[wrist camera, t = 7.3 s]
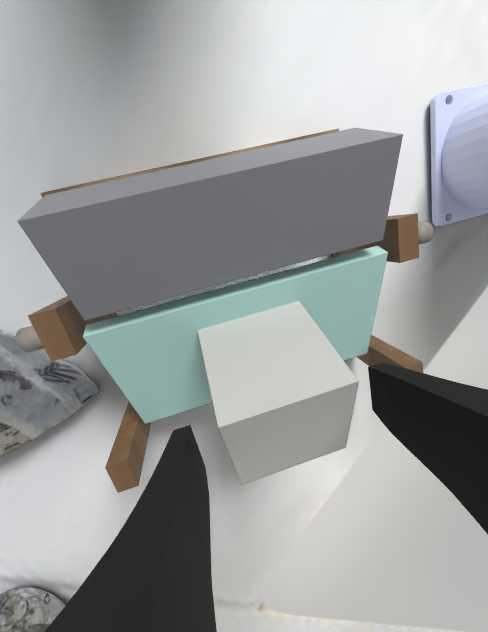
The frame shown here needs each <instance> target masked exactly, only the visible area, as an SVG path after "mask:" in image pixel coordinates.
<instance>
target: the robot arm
mask: <svg viewBox="0 0 488 632" xmlns="http://www.w3.org/2000/svg"><path fill="white" fill-rule="evenodd" d="M445 100H447V104H446V102H445ZM430 123H431V182H432V222H433V224H434V225H435V226H444V225H447V224H451V223H455V222H459V221H462V220H466V219H470V218H473V217H477V216H481V215H484V214H488V83H484V84H479V85H474V86H469V87H465V88H460V89H455V90H450V91H446V92H441V93H439V94H437V95H435V96H434V97H433V98H432V100H431V103H430ZM446 215H447V219H446ZM368 370H369V380H370V389H371V399H372V409H373V411H374V412H375V413H376V415H377V416H378V417H379V419H380V420H381V421H382V422H383V424H384V425H385V426H386V427H387V428H388V430H389V431H390V432H391V433H392V434H393V435H394V436H395V437H396V438H397V439H398V440H399V441H400V442H401V443H402V444H403V445H404V446H405V447H406V448H407V449H408V450H409V451H411V453H412V454H413V455H414V456H415V457H417V458H418V459H419V460H420V461H421V462H422V463H423V464H424V465H425V466H426V467H427V468H428V469H429V470H430V471H431V472H432V473H433V474H434V475H435V476H436V477H437V478H438V479H439V480H440V481H441V482H442V483H443V484H444V485H445V486H446V487H447V488H448V489H449V490H450V491H451V492H452V493H453V494H454V495H455V497H456V498H457V499H458V500H459V501H460V502H461V503H462V505H463V506H464V507H465V508H466V509H467V510H468V511H469V513H470V514H471V515H472V516H473V517H474V518H475V520H476V521H477V522H478V523H479V524H480V525H481V527H482V528H483V529H484V530H485V531H486V532H487V534H488V390H487V389H482V388H477V387H474V386H469V385H465V384H460V383H456V382H453V381H449V380H445V379H442V378H438V377H434V376H431V375H427V374H424V373H420V372H417V371H413V370H410V369H406V368H403V367H399V366H395V365H391V364H387V363H379V364H376V365H373V366H370V367H368ZM44 632H217V631H216V622H215V612H214V602H213V593H212V578H211V548H210V507H209V491H208V483H207V476H206V468H205V465H204V462H203V459H202V457H201V454H200V451H199V448H198V446H197V443H196V440H195V437H194V434H193V432H192V429H191V426H190V425H189V426H186V427H183V428H180V429H176V430H174V431H173V433H172V434H171V437H170V439H169V441H168V443H167V445H166V448H165V450H164V452H163V454H162V456H161V458H160V461H159V463H158V465H157V467H156V469H155V471H154V473H153V475H152V477H151V479H150V481H149V483H148V484H147V486H146V488H145V490H144V492H143V493H142V495H141V497H140V499H139V501H138V502H137V504H136V506H135V508H134V510H133V511H132V513H131V515H130V516H129V518H128V519H127V521H126V523H125V524H124V526H123V528H122V529H121V531H120V532H119V534H118V535H117V537H116V538H115V540H114V541H113V543H112V544H111V546H110V547H109V549H108V550H107V552H106V553H105V554H104V556H103V557H102V558H101V560H100V561H99V562H98V564H97V565H96V566H95V568H94V569H93V570H92V572H91V573H90V575H89V576H88V577H87V579H86V580H85V581H84V583H83V584H82V585H81V587H80V588H79V589H78V591H77V592H76V593H75V594H74V596H73V597H72V598H71V599H70V601H69V602H68V603H67V604H66V606H65V607H64V608H63V609H62V611H61V612H60V613H59V614H58V616H57V617H56V618H55V619H54V620H53V622H52V623H51V624H50V625H49V626H48V628H47V629H46V630H45V631H44Z"/></svg>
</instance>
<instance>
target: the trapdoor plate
mask: <svg viewBox="0 0 488 632" xmlns="http://www.w3.org/2000/svg"><path fill="white" fill-rule="evenodd" d="M402 137H403V134H396V133H389V132H382V131H374V130H367V129H360V128H352V129H347V130H343V131H338V132H334V133H329V134H324V135H320V136H315V137H311V138H306V139H301V140H297V141H292V142H288V143H283V144H278V145H274V146H269V147H265V148H260V149H255V150H251V151H246V152H242V153H237V154H232V155H228V156H223V157H219V158H214V159H209V160H205V161H200V162H196V163H191V164H186V165H182V166H177V167H173V168H168V169H163V170H159V171H154V172H150V173H145V174H140V175H136V176H131V177H127V178H122V179H117V180H113V181H108V182H104V183H99V184H94V185H90V186H85V187H81V188H76V189H71V190H67V191H62V192H58V193H53V194H48V195H45V196H44V197H43V198H42V199H41V200H40V201H39V202H38V203H37V204H36V205H34V206H33V207H32V208H31V209H30V210H29V211H28V212H27V213H26V214H25V215H24V216H23V217H21V218H20V219H19V220H18V223H19V224H20V226H21V227H22V229H23V230H24V232H25V233H26V235H27V236H28V237H29V239H30V240H31V242H32V243H33V245H34V246H35V248H36V249H37V251H38V252H39V254H40V255H41V257H42V258H43V260H44V261H45V263H46V264H47V265H48V267H49V268H50V270H51V271H52V273H53V274H54V276H55V277H56V279H57V280H58V282H59V283H60V285H61V286H62V288H63V289H64V291H65V292H66V293H67V295H68V296H69V298H70V299H71V301H72V302H73V304H74V305H75V307H76V308H77V310H78V311H79V313H80V314H81V316H82V317H83V319H84V320H89V319H93V318H96V317H100V316H104V315H107V314H111V313H115V312H119V311H122V310H126V309H130V308H133V307H137V306H141V305H144V304H148V303H152V302H156V301H159V300H163V299H167V298H170V297H174V296H178V295H181V294H185V293H189V292H192V291H196V290H200V289H204V288H207V287H211V286H215V285H218V284H222V283H226V282H229V281H233V280H237V279H241V278H244V277H248V276H252V275H255V274H259V273H263V272H266V271H270V270H274V269H277V268H281V267H285V266H289V265H292V264H296V263H300V262H303V261H307V260H311V259H314V258H318V257H322V256H326V255H329V254H333V253H337V252H340V251H344V250H348V249H351V248H355V247H359V246H362V245H366V244H370V243H374V242H377V241H381V240H383V237H384V232H385V226H386V221H387V216H388V211H389V205H390V200H391V195H392V189H393V184H394V179H395V174H396V168H397V163H398V158H399V152H400V147H401V142H402ZM387 256H388V252H387V251H385V250H384V249H382V248H380V247H379V246H374V247H371V248H367V249H363V250H360V251H356V252H352V253H349V254H345V255H341V256H338V257H334V258H330V259H327V260H323V261H319V262H316V263H312V264H308V265H305V266H301V267H297V268H294V269H290V270H286V271H283V272H279V273H275V274H272V275H268V276H264V277H260V278H257V279H253V280H249V281H246V282H242V283H238V284H235V285H231V286H227V287H224V288H220V289H216V290H213V291H209V292H205V293H202V294H198V295H194V296H191V297H187V298H183V299H180V300H176V301H172V302H169V303H165V304H161V305H158V306H154V307H150V308H147V309H143V310H139V311H136V312H132V313H128V314H125V315H121V316H117V317H114V318H110V319H106V320H103V321H99V322H95V323H92V324H88V325H86V327H85V331H84V335H83V338H84V339H85V341H86V342H87V344H88V345H89V346H90V348H91V349H92V350H93V352H94V353H95V355H96V356H97V357H98V359H99V360H100V362H101V363H102V364H103V366H104V367H105V368H106V370H107V371H108V373H109V374H110V375H111V377H112V378H113V380H114V381H115V382H116V384H117V385H118V386H119V388H120V389H121V391H122V392H123V393H124V395H125V396H126V398H127V399H128V400H129V402H130V403H131V405H132V406H133V407H134V409H135V410H136V411H137V413H138V414H139V416H140V417H141V418H142V420H143V421H144V423H145V424H147V423H150V422H153V421H156V420H159V419H162V418H165V417H168V416H172V415H175V414H178V413H181V412H184V411H187V410H190V409H194V408H197V407H200V406H203V405H206V404H209V403H212V402H213V401H212V396H211V391H210V386H209V382H208V377H207V372H206V367H205V363H204V358H203V353H202V348H201V344H200V339H199V334H198V330H200V329H204V328H207V327H210V326H214V325H217V324H221V323H224V322H228V321H231V320H235V319H238V318H241V317H245V316H248V315H252V314H255V313H259V312H262V311H266V310H269V309H273V308H276V307H279V306H283V305H286V304H290V303H293V302H297V301H299V302H300V303H301V304H302V306H303V307H304V308H305V310H306V311H307V312H308V314H309V315H310V316H311V318H312V319H313V320H314V322H315V323H316V324H317V326H318V327H319V328H320V330H321V331H322V332H323V334H324V335H325V336H326V338H327V339H328V340H329V342H330V343H331V344H332V346H333V347H334V348H335V350H336V351H337V353H338V354H339V355H340V357H341V358H342V359H343V361H344V360H347V359H350V358H353V357H356V356H360V355H363V354H366V353H367V352H368V347H369V342H370V337H371V332H372V328H373V323H374V318H375V313H376V308H377V304H378V299H379V294H380V289H381V284H382V280H383V275H384V270H385V265H386V260H387Z"/></svg>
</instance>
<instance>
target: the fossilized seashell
mask: <svg viewBox="0 0 488 632" xmlns="http://www.w3.org/2000/svg"><path fill="white" fill-rule="evenodd" d="M65 606H66V605H65V604H64V603H63V602H62V601H61V600H60V599H59V598H57V597H56V596H54V595H52V594H51V593H49V592H47V591H44V590H42V589H38V588H33V587H21V588H17V589H12V590H9V591H7V592H5V593H3V594H1V595H0V632H44V631H45V630H46V629H47V628H48V626H49V625H50V624H51V623H52V622H53V620H54V619H55V618H56V617H57V616H58V614H59V613H60V612H61V611H62V609H63V608H64V607H65Z"/></svg>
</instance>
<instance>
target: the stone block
mask: <svg viewBox="0 0 488 632" xmlns="http://www.w3.org/2000/svg"><path fill="white" fill-rule="evenodd" d="M198 334H199V339H200V344H201V348H202V353H203V358H204V363H205V367H206V372H207V377H208V382H209V386H210V391H211V396H212V401H213V405H214V410H215V415H216V420H217V424H218V428H219V431H220V433H221V436H222V438H223V441H224V443H225V446H226V448H227V451H228V453H229V455H230V458H231V460H232V463H233V465H234V468H235V470H236V473H237V475H238V477H239V480H240V482H241V485H243V484H246V483H248V482H251V481H254V480H257V479H259V478H262V477H265V476H268V475H271V474H273V473H276V472H279V471H282V470H284V469H287V468H290V467H293V466H296V465H298V464H301V463H304V462H307V461H310V460H312V459H315V458H318V457H321V456H323V455H326V454H329V453H332V452H335V451H337V450H340V449H343V448H346V444H347V439H348V434H349V429H350V424H351V419H352V414H353V408H354V403H355V398H356V393H357V388H358V383H359V381H358V379H357V378H356V377H355V375H354V374H353V373H352V371H351V370H350V369H349V367H348V366H347V365H346V363H345V362H344V361H343V359H342V358H341V357H340V355H339V354H338V353H337V351H336V350H335V348H334V347H333V346H332V344H331V343H330V342H329V340H328V339H327V338H326V336H325V335H324V334H323V332H322V331H321V330H320V328H319V327H318V326H317V324H316V323H315V322H314V320H313V319H312V318H311V316H310V315H309V314H308V312H307V311H306V310H305V308H304V307H303V306H302V304H301V303H300V302H299V301H297V302H293V303H290V304H286V305H283V306H279V307H276V308H273V309H269V310H266V311H262V312H259V313H255V314H252V315H248V316H245V317H241V318H238V319H235V320H231V321H228V322H224V323H221V324H217V325H214V326H210V327H207V328H204V329H200V330H198Z"/></svg>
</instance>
